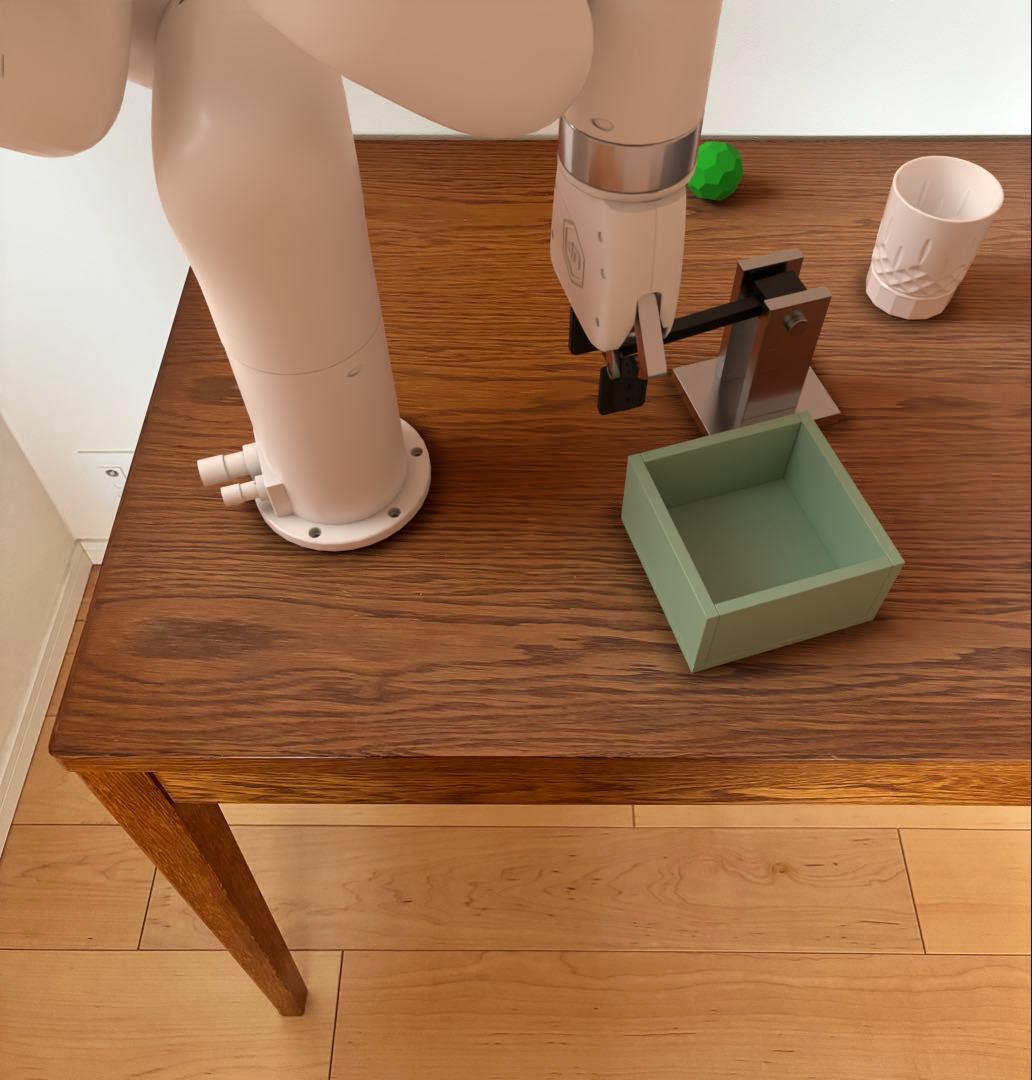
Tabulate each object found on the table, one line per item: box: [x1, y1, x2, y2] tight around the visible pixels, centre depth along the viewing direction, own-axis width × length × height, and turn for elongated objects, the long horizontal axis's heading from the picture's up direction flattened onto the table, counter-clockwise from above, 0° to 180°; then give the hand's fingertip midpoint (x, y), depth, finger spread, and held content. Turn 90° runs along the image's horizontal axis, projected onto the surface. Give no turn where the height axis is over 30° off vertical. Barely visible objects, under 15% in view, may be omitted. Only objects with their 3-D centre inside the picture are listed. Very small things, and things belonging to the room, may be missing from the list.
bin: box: [620, 411, 906, 674], centre depth 63 cm, size 13×13×7 cm
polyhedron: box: [687, 140, 744, 201], centre depth 87 cm, size 5×5×5 cm
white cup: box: [865, 155, 1005, 320], centre depth 77 cm, size 8×8×10 cm
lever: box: [600, 270, 808, 361], centre depth 66 cm, size 14×5×2 cm, turn 107°
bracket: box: [670, 247, 841, 437], centre depth 69 cm, size 10×8×12 cm
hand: (605, 375), depth 67 cm, fingers closed on lever, 5 cm apart
